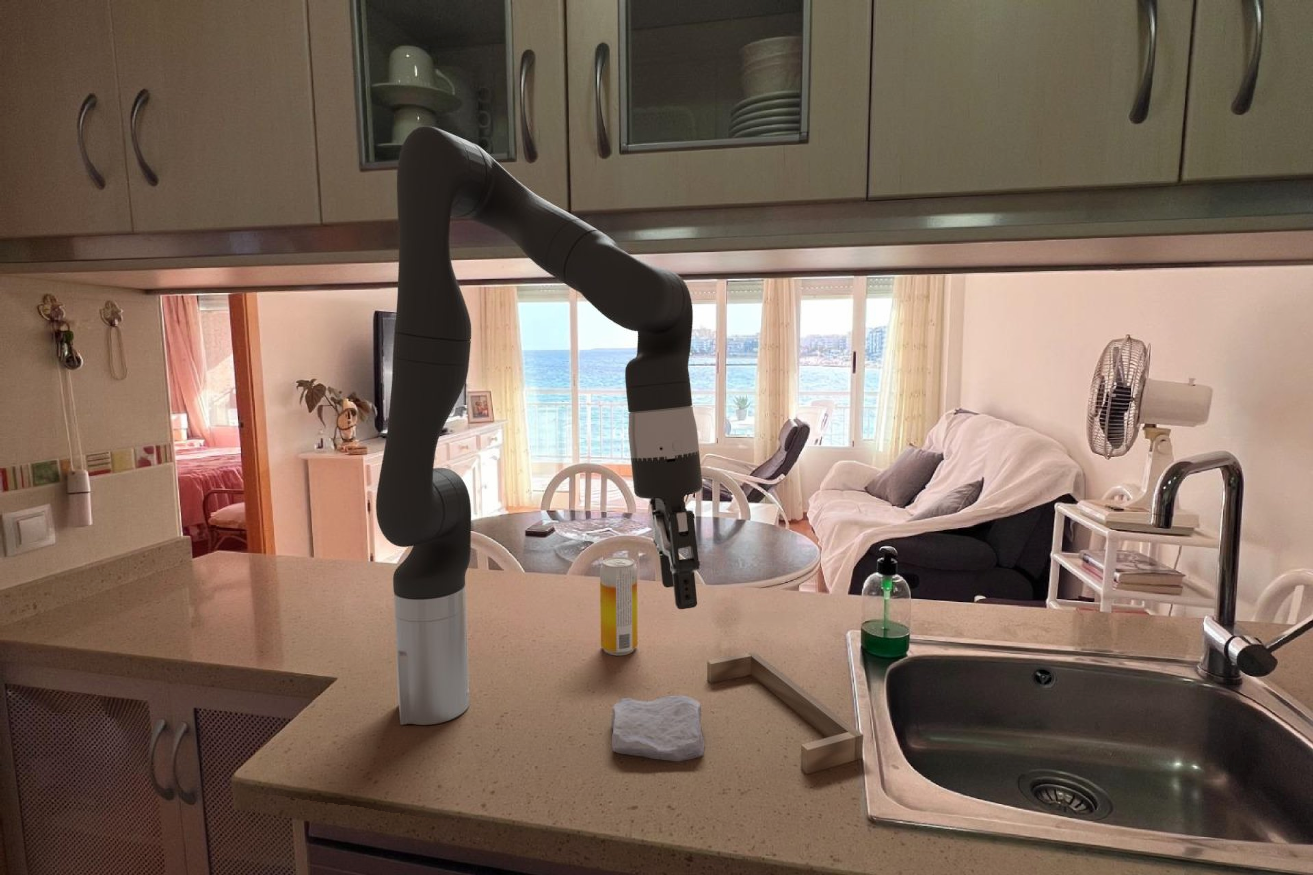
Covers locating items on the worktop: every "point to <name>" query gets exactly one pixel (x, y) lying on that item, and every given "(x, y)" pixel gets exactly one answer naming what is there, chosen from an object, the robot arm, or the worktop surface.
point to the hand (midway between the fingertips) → (679, 596)
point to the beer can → (618, 605)
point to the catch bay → (814, 755)
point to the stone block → (658, 728)
